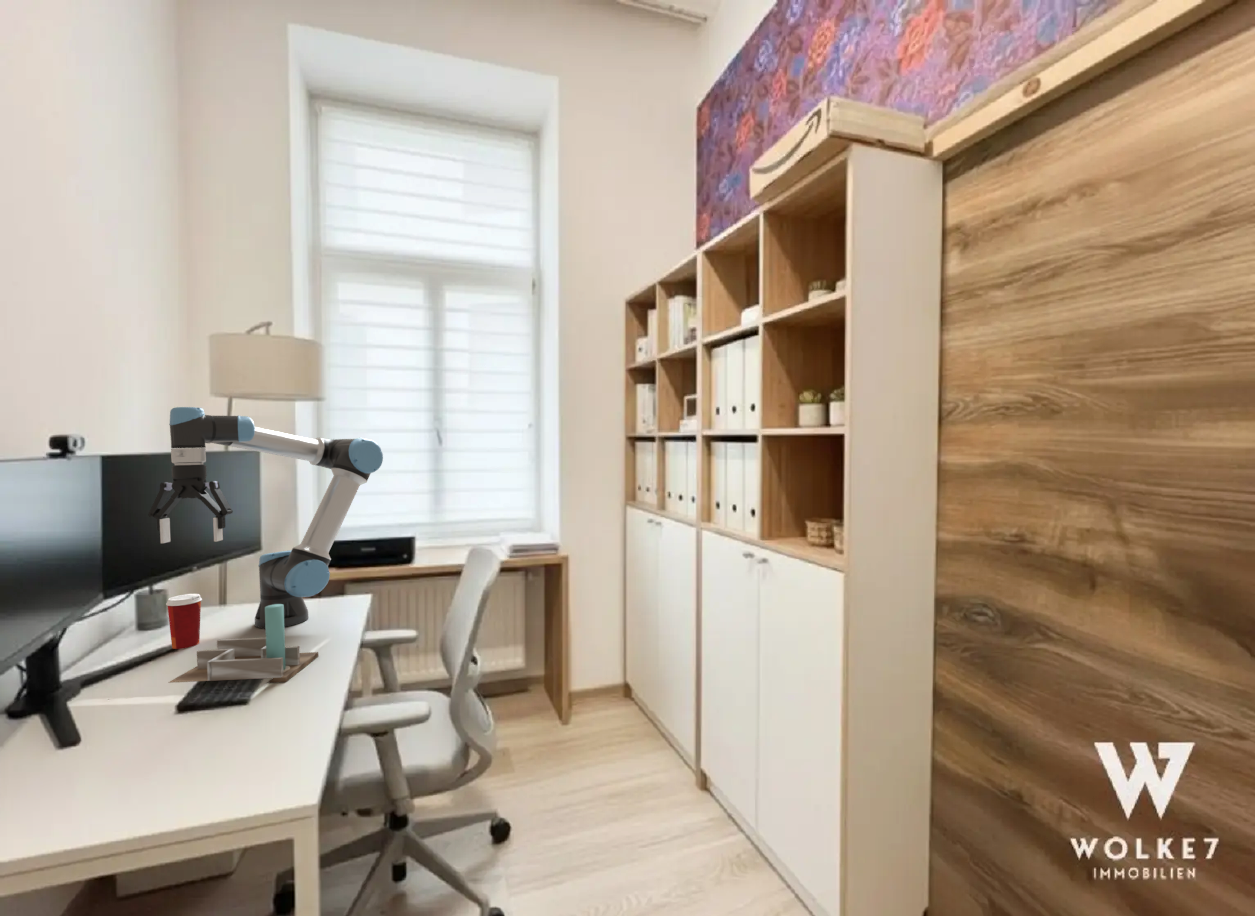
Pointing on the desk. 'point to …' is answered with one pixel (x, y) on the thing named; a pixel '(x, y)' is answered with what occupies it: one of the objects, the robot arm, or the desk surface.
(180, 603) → the coffee cup
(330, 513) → the robot arm
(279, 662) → the slot board
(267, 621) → the teal dowel
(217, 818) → the desk surface
